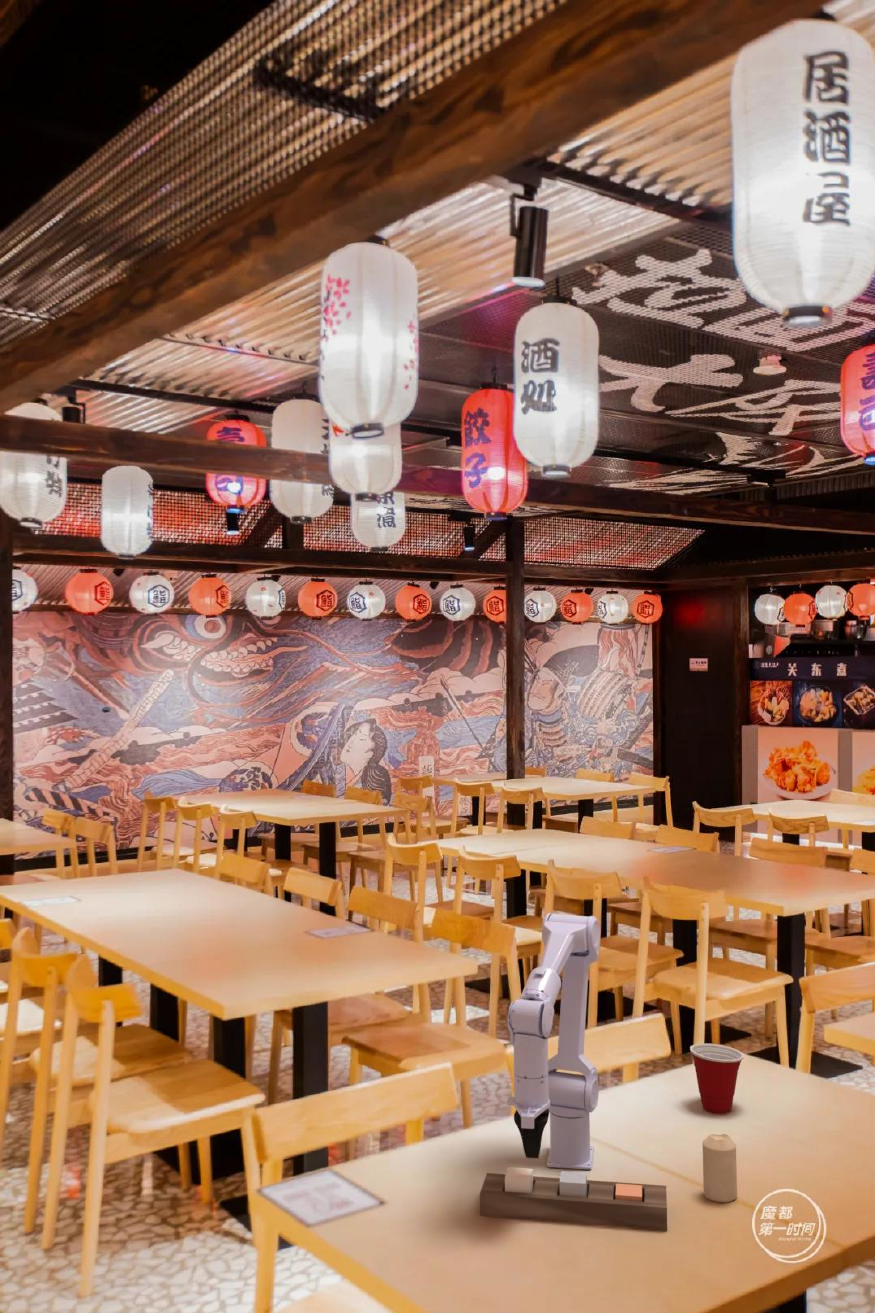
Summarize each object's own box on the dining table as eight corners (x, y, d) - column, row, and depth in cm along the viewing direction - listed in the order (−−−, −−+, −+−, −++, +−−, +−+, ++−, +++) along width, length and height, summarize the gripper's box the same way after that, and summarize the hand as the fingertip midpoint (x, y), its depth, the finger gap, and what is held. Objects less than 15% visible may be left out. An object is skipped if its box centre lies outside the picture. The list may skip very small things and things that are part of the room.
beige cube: (508, 1188, 183) (507, 1167, 183) (533, 1190, 182) (532, 1169, 182) (505, 1199, 179) (504, 1178, 179) (530, 1201, 178) (530, 1180, 178)
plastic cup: (751, 1119, 217) (750, 1058, 217) (697, 1119, 217) (696, 1058, 218) (737, 1099, 228) (736, 1041, 228) (685, 1099, 228) (684, 1041, 228)
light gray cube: (561, 1192, 181) (561, 1171, 181) (587, 1194, 180) (586, 1173, 180) (559, 1204, 177) (559, 1182, 177) (585, 1206, 176) (585, 1184, 176)
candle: (731, 1187, 186) (730, 1128, 187) (741, 1202, 181) (740, 1141, 181) (699, 1188, 186) (698, 1129, 187) (708, 1203, 181) (707, 1142, 181)
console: (487, 1194, 185) (486, 1173, 185) (666, 1207, 179) (666, 1186, 180) (479, 1215, 177) (479, 1193, 178) (667, 1230, 172) (666, 1208, 172)
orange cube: (616, 1205, 179) (616, 1183, 179) (642, 1207, 178) (642, 1185, 179) (615, 1217, 175) (615, 1195, 175) (642, 1219, 174) (641, 1197, 174)
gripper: (512, 1058, 188) (513, 1138, 188) (501, 1087, 174) (503, 1173, 174) (552, 1060, 187) (554, 1140, 187) (545, 1089, 173) (547, 1176, 172)
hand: (532, 1156), depth 180 cm, fingers closed
